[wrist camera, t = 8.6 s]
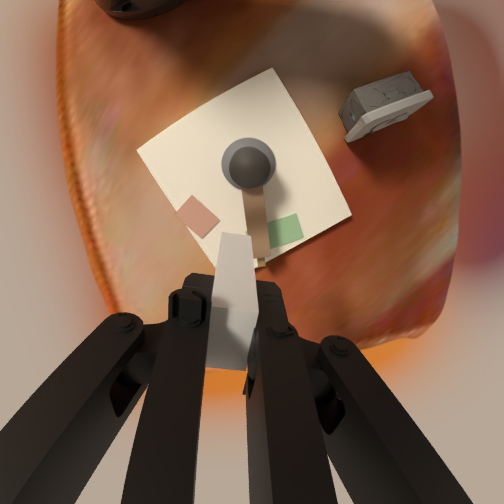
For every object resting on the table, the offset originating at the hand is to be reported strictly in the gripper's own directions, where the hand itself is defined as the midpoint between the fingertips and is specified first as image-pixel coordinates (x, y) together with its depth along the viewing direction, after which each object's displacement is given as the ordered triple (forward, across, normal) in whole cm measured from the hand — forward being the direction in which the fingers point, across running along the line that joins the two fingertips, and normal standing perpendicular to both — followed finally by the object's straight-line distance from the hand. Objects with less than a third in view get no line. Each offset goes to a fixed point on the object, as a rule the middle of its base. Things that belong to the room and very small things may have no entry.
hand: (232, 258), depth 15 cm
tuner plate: (+20, +1, +1) cm, 20 cm away
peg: (+19, +2, -2) cm, 19 cm away
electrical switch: (+21, +14, +12) cm, 28 cm away
